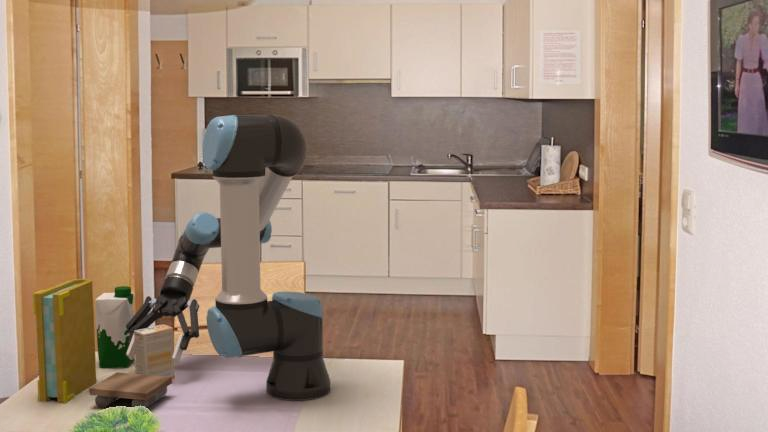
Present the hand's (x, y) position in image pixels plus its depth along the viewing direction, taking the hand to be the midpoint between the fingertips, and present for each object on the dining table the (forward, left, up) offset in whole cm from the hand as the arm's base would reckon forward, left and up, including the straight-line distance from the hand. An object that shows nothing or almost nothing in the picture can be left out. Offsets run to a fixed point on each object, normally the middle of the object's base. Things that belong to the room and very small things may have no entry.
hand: (152, 359), depth 223 cm
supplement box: (0, -1, -6) cm, 6 cm away
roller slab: (-2, +14, -6) cm, 15 cm away
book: (+16, +10, -6) cm, 20 cm away
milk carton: (+16, -11, -6) cm, 20 cm away
